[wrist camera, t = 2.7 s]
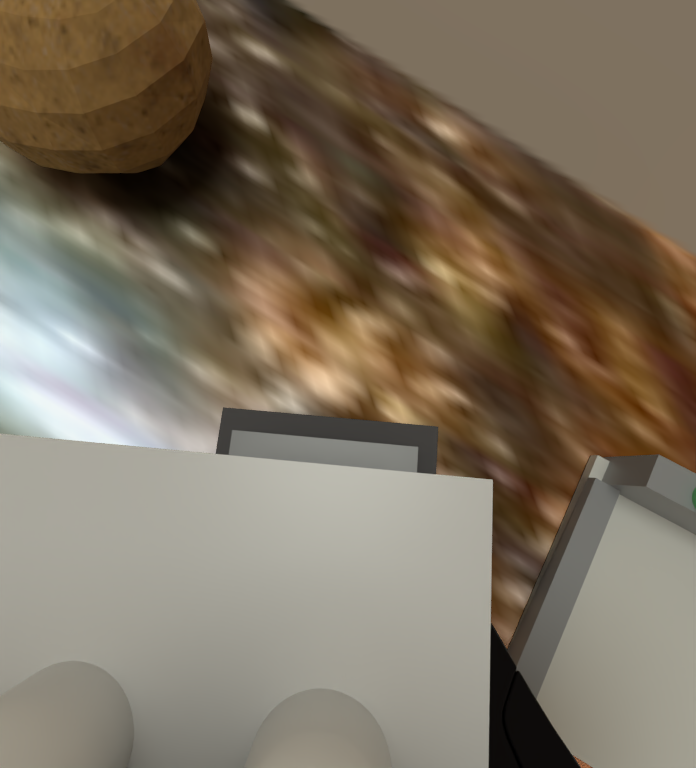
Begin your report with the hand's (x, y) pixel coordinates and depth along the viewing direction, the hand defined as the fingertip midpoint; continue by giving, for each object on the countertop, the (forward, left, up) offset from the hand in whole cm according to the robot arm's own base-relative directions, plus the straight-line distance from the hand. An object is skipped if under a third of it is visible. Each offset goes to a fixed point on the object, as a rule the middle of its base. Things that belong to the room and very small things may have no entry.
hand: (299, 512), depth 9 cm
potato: (+6, +20, -7) cm, 22 cm away
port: (+5, -14, -7) cm, 16 cm away
